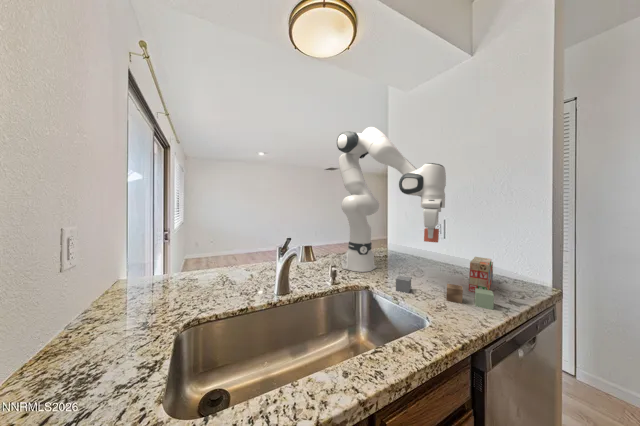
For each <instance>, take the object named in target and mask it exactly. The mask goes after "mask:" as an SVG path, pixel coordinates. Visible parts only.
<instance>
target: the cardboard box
mask: <svg viewBox="0 0 640 426" xmlns="http://www.w3.org/2000/svg"><path fill="white" fill-rule="evenodd" d="M493 277H494V261H492V258H488V257H481V256H480V257H479V256H474V257H473V258H472V260H471V261H469V283H468V292H472V293H475V288H478V289H484V290H490V288H491V285H492V284H493Z"/></svg>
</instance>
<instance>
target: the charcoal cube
mask: <svg viewBox="0 0 640 426" xmlns="http://www.w3.org/2000/svg"><path fill="white" fill-rule="evenodd" d="M411 290H412V277H409V276H405V275H398V276H397V277H396V278H395V292H399V291H400V292H399V293H404V292H405V294H409V293H411Z"/></svg>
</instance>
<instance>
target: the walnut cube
mask: <svg viewBox="0 0 640 426" xmlns="http://www.w3.org/2000/svg"><path fill="white" fill-rule="evenodd" d="M463 295H464V287H463V285H459V284H451V283H446V298H445V300H446V302H451V303H456V304H461V305H463V298H464V297H463Z"/></svg>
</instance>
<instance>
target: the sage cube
mask: <svg viewBox="0 0 640 426" xmlns="http://www.w3.org/2000/svg"><path fill="white" fill-rule="evenodd" d="M494 301H495V294H494V291H492V290H490V289H489V290H484V289H478V288H475V292H474V307H476V308H482V309H486V310H494Z"/></svg>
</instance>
